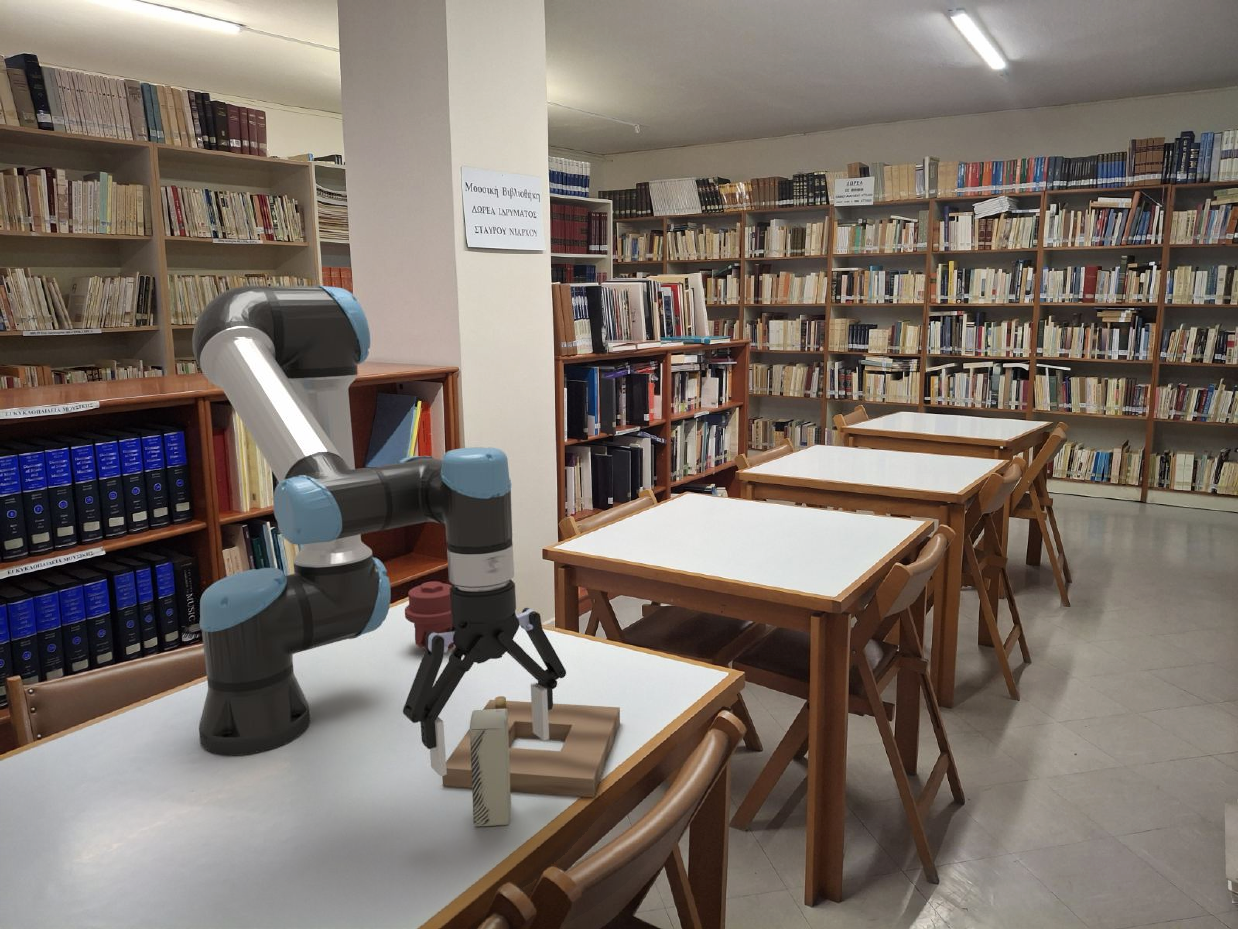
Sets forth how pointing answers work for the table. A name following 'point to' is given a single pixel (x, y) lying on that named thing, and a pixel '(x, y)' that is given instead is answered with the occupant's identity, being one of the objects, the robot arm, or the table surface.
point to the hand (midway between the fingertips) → (491, 753)
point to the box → (490, 767)
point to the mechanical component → (429, 610)
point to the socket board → (545, 769)
